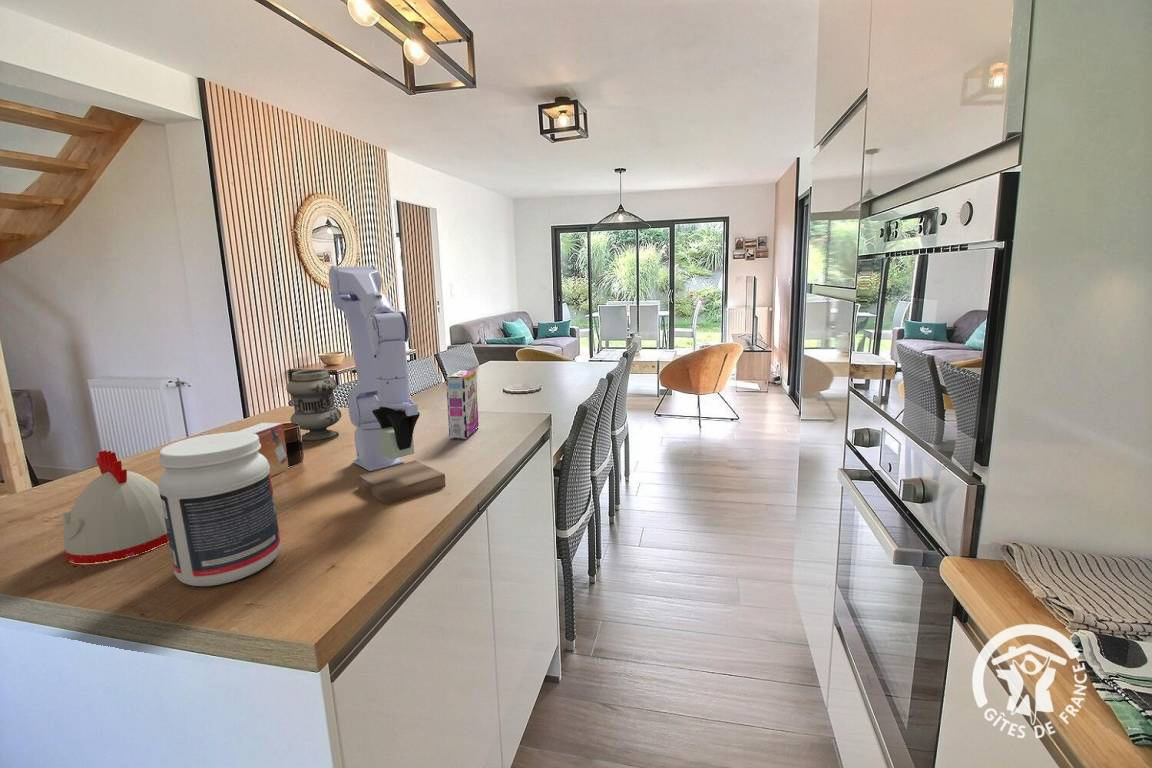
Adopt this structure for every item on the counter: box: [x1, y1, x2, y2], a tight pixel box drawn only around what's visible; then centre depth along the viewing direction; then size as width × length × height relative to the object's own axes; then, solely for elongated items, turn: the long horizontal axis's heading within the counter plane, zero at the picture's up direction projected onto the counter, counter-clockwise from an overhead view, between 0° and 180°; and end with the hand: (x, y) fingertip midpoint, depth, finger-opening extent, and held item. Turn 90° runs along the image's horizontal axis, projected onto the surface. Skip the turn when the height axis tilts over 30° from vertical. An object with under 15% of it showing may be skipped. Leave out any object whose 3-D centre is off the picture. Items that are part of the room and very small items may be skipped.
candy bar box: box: [445, 369, 479, 440], centre depth 138 cm, size 11×5×16 cm, turn 174°
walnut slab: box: [358, 460, 446, 506], centre depth 103 cm, size 12×12×3 cm
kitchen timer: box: [62, 449, 169, 563], centre depth 82 cm, size 14×14×15 cm
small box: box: [235, 422, 289, 478], centre depth 111 cm, size 8×6×10 cm
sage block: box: [379, 427, 415, 459], centre depth 101 cm, size 4×4×5 cm
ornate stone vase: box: [286, 368, 342, 444], centre depth 138 cm, size 12×12×18 cm
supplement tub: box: [157, 431, 282, 587], centre depth 73 cm, size 13×13×18 cm
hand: (398, 445), depth 102 cm, fingers closed on sage block, 4 cm apart
